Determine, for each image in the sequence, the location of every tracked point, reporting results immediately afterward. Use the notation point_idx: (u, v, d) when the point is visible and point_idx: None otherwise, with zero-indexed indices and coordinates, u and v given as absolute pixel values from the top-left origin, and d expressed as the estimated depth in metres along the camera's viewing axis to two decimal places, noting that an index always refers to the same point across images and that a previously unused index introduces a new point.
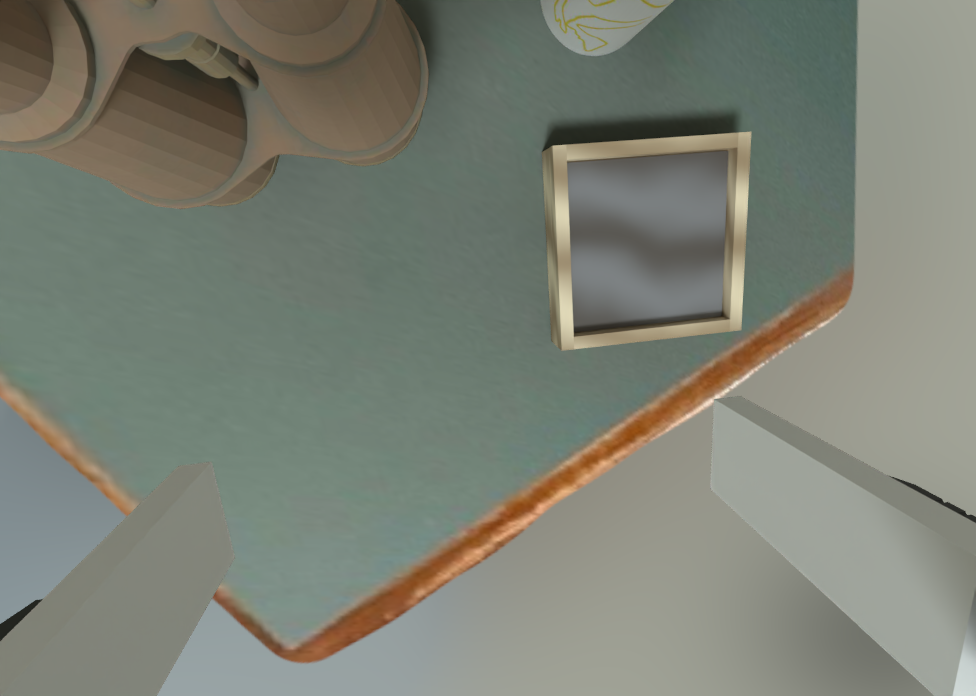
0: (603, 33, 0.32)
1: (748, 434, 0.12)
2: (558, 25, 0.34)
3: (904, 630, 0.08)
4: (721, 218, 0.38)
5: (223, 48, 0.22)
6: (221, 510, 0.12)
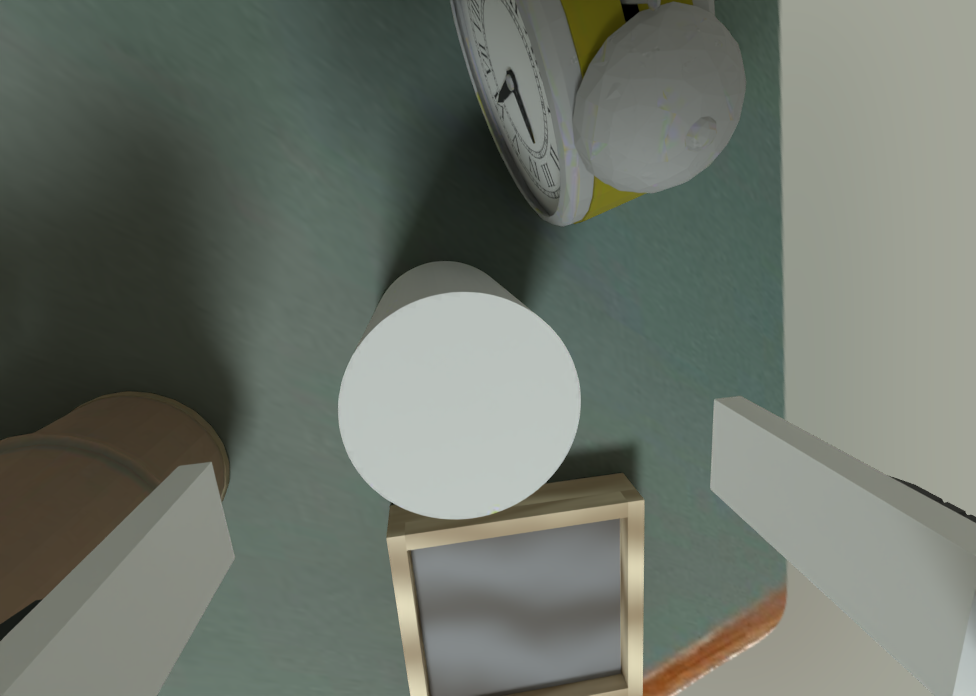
0: None
1: (748, 434, 0.12)
2: None
3: (904, 630, 0.08)
4: (614, 578, 0.31)
5: None
6: (221, 510, 0.12)
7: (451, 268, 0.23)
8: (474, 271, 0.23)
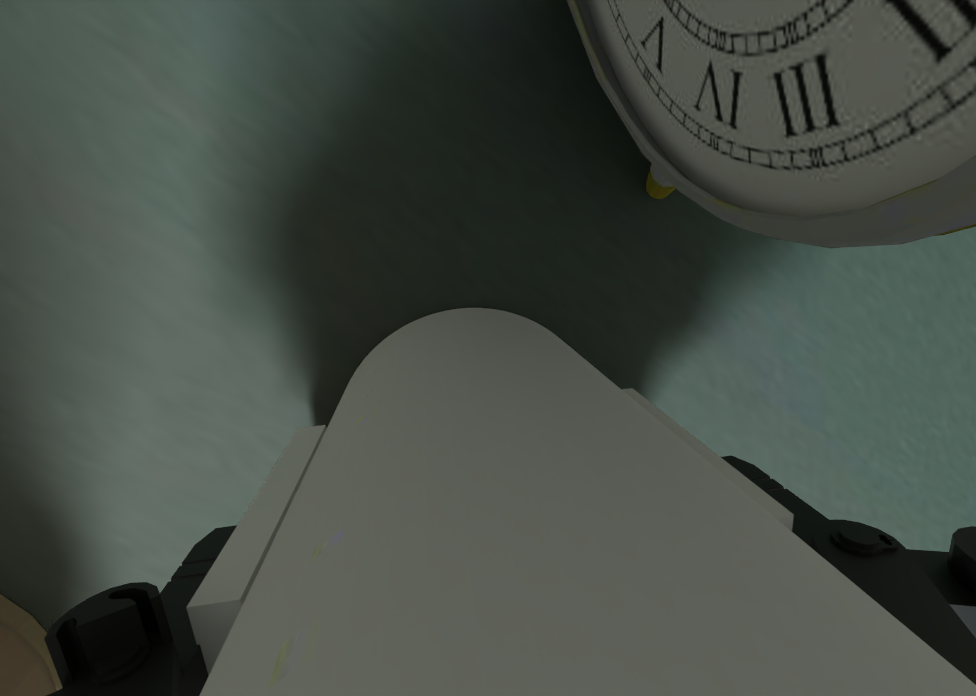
0: None
1: None
2: None
3: None
4: None
5: None
6: None
7: (498, 342, 0.10)
8: (547, 345, 0.10)
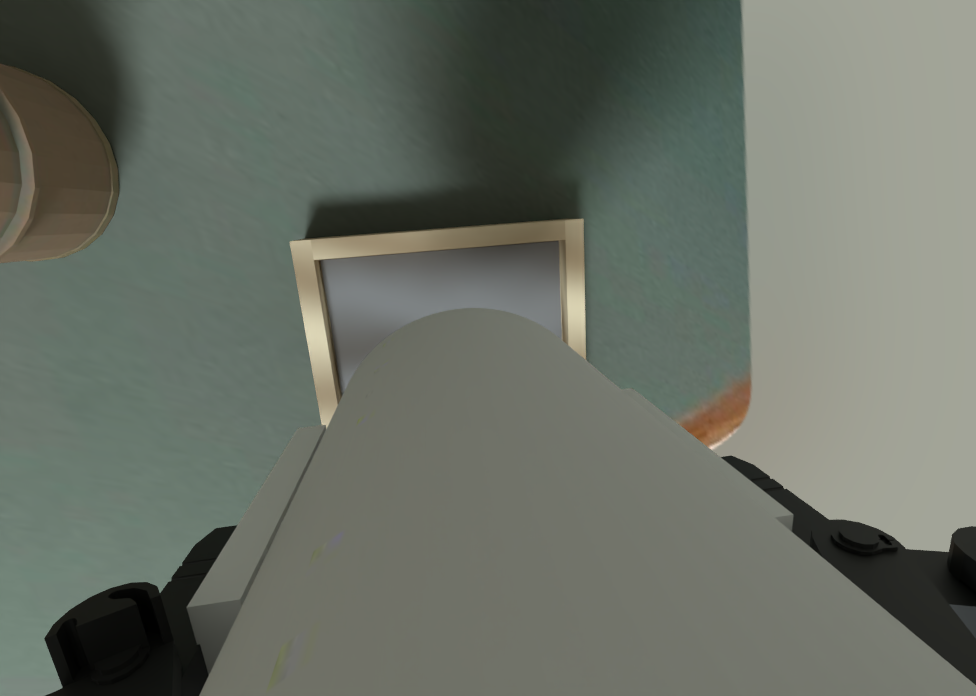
0: None
1: None
2: None
3: None
4: (555, 329, 0.28)
5: None
6: None
7: (498, 343, 0.10)
8: (547, 345, 0.10)
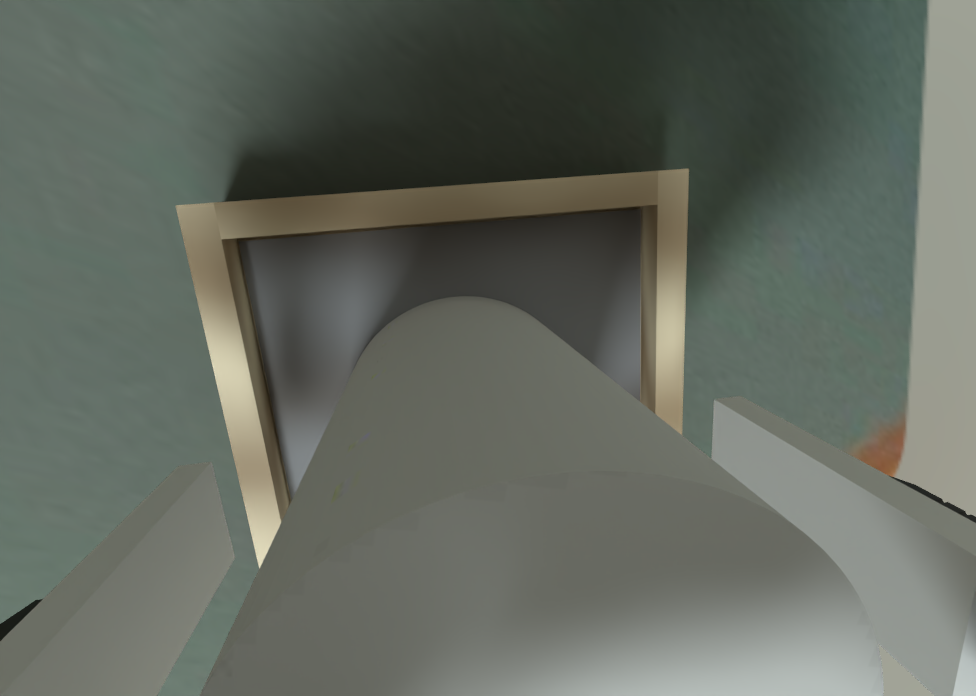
0: None
1: (749, 435, 0.12)
2: None
3: (904, 630, 0.08)
4: (631, 354, 0.17)
5: None
6: (221, 510, 0.12)
7: (484, 320, 0.12)
8: (525, 323, 0.13)
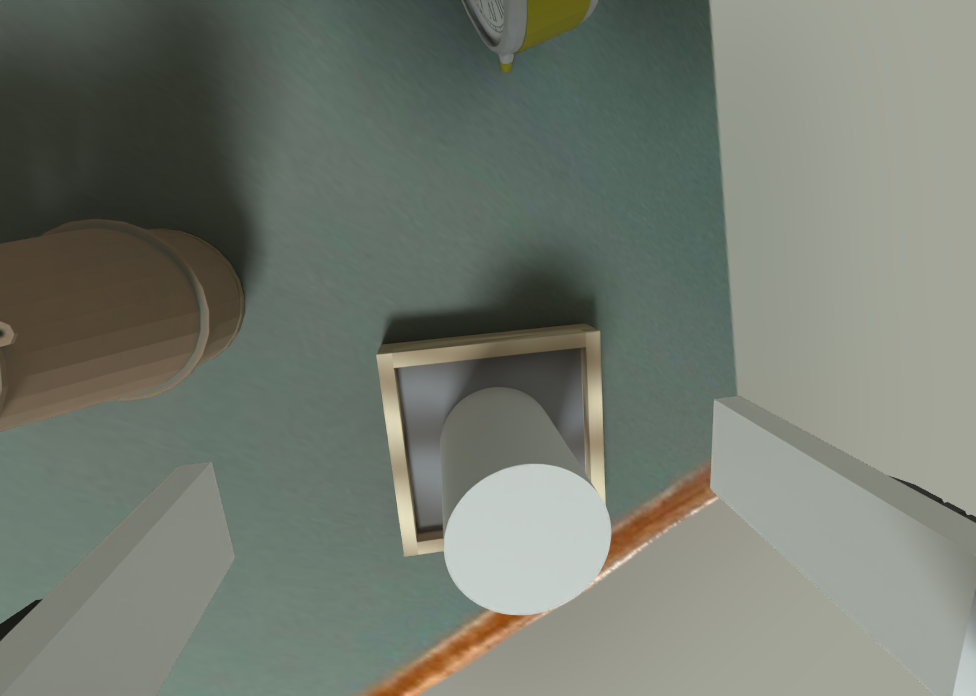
0: None
1: (749, 434, 0.12)
2: None
3: (904, 630, 0.08)
4: (578, 412, 0.35)
5: None
6: (221, 510, 0.12)
7: (508, 407, 0.30)
8: (525, 407, 0.31)
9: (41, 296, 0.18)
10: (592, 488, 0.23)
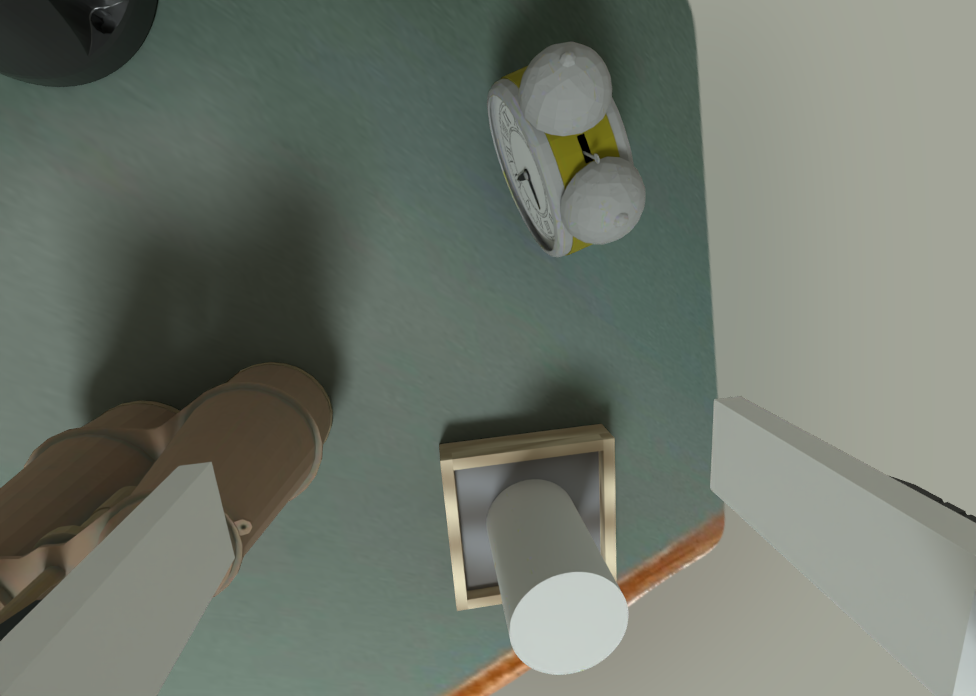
0: None
1: (748, 435, 0.12)
2: None
3: (904, 630, 0.08)
4: (595, 496, 0.44)
5: None
6: (221, 510, 0.12)
7: (545, 506, 0.39)
8: (557, 504, 0.39)
9: (247, 482, 0.27)
10: (615, 586, 0.32)
